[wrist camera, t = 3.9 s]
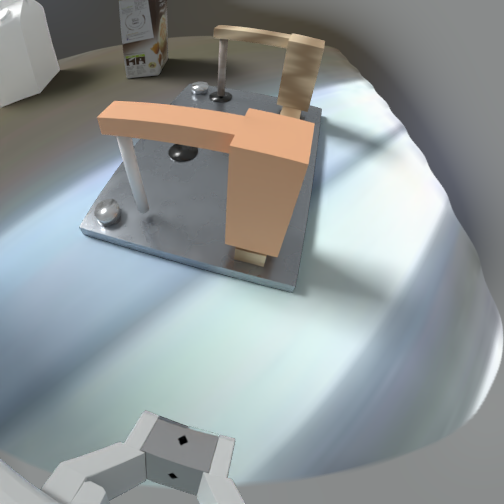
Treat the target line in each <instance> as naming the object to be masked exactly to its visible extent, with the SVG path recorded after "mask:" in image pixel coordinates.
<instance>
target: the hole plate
mask: <svg viewBox="0 0 504 504" xmlns="http://www.w3.org/2000/svg"><path fill="white" fill-rule="evenodd" d="M217 89H218V87H214V86H208V83H206V82H196V83H193V84H189V85H188V86H187V87H186V88H185V89H184V90H183V91H182V92H181V93H180V94H179V95H178V96H177V97H176V98H175V99H174V101H173V102H172V103H171V104H170V105H175V106H184V107H192V108H199V109H206V110H213V111H219V112H225V113H231V114H236V115H242V116H245V115H246V113H247V111H248V109H249V108H251V109H256V110H261V111H266V112H271V113H275V114H280V113H281V110H282V107H283V106H281V105H277V100H278V98H277V97H272V96H268V95H263V94H258V93H252V92H247V91H241V90H235V89H228V88H225V95H224V96H218V95H217ZM321 112H322V109H321V108H318V107H314V106H310V105H309V109H308V112H306V111H302V110H301V115H300V120H304V121H308V122H311V123H315V125H314V132H313V139H312V145H311V152H310V158H309V165H308V168H307V171H306V174H305V177H304V180H303V183H302V186H301V189H300V192H299V195H298V198H297V201H296V204H295V207H294V210H293V213H292V216H291V219H290V222H289V225H288V228H287V231H286V234H285V237H284V240H283V243H282V246H281V249H280V252H279V254H278V257H274V256H270V255H267V256H266V260H265V263H264V267H262V266H259V265H255V264H251V263H247V262H243V261H239V260H235V259H234V257H235V248H236V247H235V246H231V245H227V244H225V230H226V205H227V183H228V164H229V153H224V152H219V151H214V150H208V149H203V148H198V147H192V146H186V145H180V144H174V143H168V142H161V141H154V140H147V139H140V140H139V141H138V142H137V144H136V145H135V146H134V150H135V155H136V159H137V163H138V167H139V171H140V175H141V179H142V183H143V187H144V190H145V194H146V198H147V201H148V205H149V210H148V212H146V213H140V212H139V211H138V208H137V205H136V202H135V199H134V196H133V192H132V189H131V186H130V183H129V179H128V176H127V173H126V169H125V166H124V162H122V163H121V165H120V166H119V167H118V169H117V170H116V171H115V173H114V174H113V176H112V177H111V179H110V180H109V181H108V183H107V184H106V186H105V187H104V189H103V190H102V192H101V193H100V195H99V196H98V198H97V199H96V201H95V202H94V204H93V205H92V207H91V208H90V210H89V212H88V213H87V215H86V216H85V218H84V220H83V221H82V223H81V225H80V226H79V228H80V229H81V231H82V233H83V234H84V235H87V236H91V237H94V238H97V239H100V240H104V241H107V242H110V243H114V244H117V245H120V246H124V247H127V248H130V249H134V250H137V251H140V252H144V253H147V254H151V255H154V256H158V257H161V258H165V259H168V260H172V261H175V262H179V263H182V264H186V265H190V266H193V267H197V268H200V269H204V270H208V271H211V272H215V273H219V274H222V275H226V276H230V277H234V278H237V279H241V280H245V281H249V282H253V283H257V284H260V285H264V286H268V287H272V288H276V289H280V290H284V291H288V292H293V290H294V288H295V287H296V281H297V276H298V271H299V265H300V259H301V254H302V248H303V242H304V236H305V230H306V224H307V217H308V211H309V204H310V198H311V191H312V184H313V177H314V169H315V162H316V154H317V146H318V138H319V130H320V121H321Z"/></svg>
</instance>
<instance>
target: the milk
mask: <svg viewBox="0 0 504 504" xmlns="http://www.w3.org/2000/svg"><path fill="white" fill-rule="evenodd" d="M59 71H60V68H59V65H58V62H57V58H56V55H55V51H54V48H53V44H52V41H51V37H50V33H49V29H48V25H47V21H46V17H45V12H44V8H43V7H42V5H41V4H39V3H38V2H36V1H35V0H0V106H1V107H4V106H6V105H9V104H11V103H14V102H16V101H19V100H21V99H24V98H27V97H30V96H33V95H36V94H39V93H41V91H42V90H43V89H44V88H45V87H46V85H47V84H48V83H49V82H50V81H51V80H52V79H53V77H54V76H55V75H56V74H57V73H58V72H59Z"/></svg>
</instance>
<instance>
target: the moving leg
mask: <svg viewBox="0 0 504 504" xmlns="http://www.w3.org/2000/svg"><path fill="white" fill-rule="evenodd" d="M97 119H98V122H99V126H100V129H101V133H102V134H104V135H114V136H116V137H117V140H118V144H119V148H120V152H121V155H122V159H123V162H124V166H125V169H126V173H127V176H128V179H129V183H130V186H131V189H132V192H133V196H134V199H135V202H136V205H137V208H138V211H139V212H140V213H146V212H148V210H149V205H148V201H147V198H146V194H145V190H144V187H143V183H142V179H141V175H140V171H139V167H138V163H137V159H136V155H135V150H134V146H133V142H132V138H140V139H147V140H154V141H161V142H168V143H174V144H180V145H186V146H192V147H198V148H203V149H208V150H214V151H219V152H224V153H229V164H228V183H227V205H226V230H225V244H227V245H231V246H235V247H239V248H243V249H246V250H250V251H254V252H258V253H262V254H266V255H270V256H274V257H278V254H279V252H280V249H281V246H282V243H283V240H284V237H285V234H286V231H287V228H288V225H289V222H290V219H291V216H292V213H293V210H294V207H295V204H296V201H297V198H298V195H299V192H300V189H301V186H302V183H303V180H304V177H305V174H306V171H307V168H308V165H309V158H310V152H311V145H312V139H313V132H314V125H315V123H311V122H308V121H304V120H300V119H296V118H292V117H288V116H284V115H280V114H275V113H271V112H266V111H261V110H256V109H251V108H249V109H248V111H247V113H246V115H245V116H242V115H236V114H231V113H225V112H219V111H213V110H206V109H199V108H192V107H184V106H175V105H166V104H155V103H142V102H125V101H114V102H113V103H112V104H110V105H109V106H108V107H107V108H106V109H105V110H104V111H103V112H102V113H101V114H100V115H99V116H98V117H97Z"/></svg>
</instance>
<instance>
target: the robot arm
mask: <svg viewBox="0 0 504 504" xmlns="http://www.w3.org/2000/svg"><path fill="white" fill-rule="evenodd" d="M234 445H235V438H231V437H227V436H223V435H219V434H216V433H213V432H209V431H205V430H201V429H198V428H195V427H191V426H186V425H183V424H181V423H178V422H175V421H172V420H170V419H167V418H164V417H162V416H159V415H156V414H154V413H151V412H149V411H146V410H145V411H144V412H143V413H142V414H141V416H140V418H139V419H138V421H137V423H136V424H135V426H134V428H133V429H132V431H131V432H130V434H129V436H128V437H127V439H126V441H125V442H124V443H122V442H118V443H115V444H113V445H110V446H107V447H105V448H102V449H99V450H96V451H94V452H91V453H88V454H85V455H82V456H79V457H76V458H73V459H70V460H67V461H63V462H60V464H59V465H58V466H57V468H56V469H55V470H54V472H53V473H52V474H51V476H50V477H49V478H48V480H47V481H46V483H45V484H44V485H43V486H42V488H41V489H38V488H37V487H35V486H34V485H33V484H31V483H30V482H29V481H27V480H26V479H25V478H23V477H22V476H21V475H20V474H18V473H17V472H16V471H14V470H13V469H12V468H11V467H10V466H9V465H7V464H6V463H5V462H4V461H3V460H2V459H1V458H0V504H110V502H109V501H110V500H112V499H114V498H115V497H117V496H119V495H121V494H123V493H125V492H127V491H128V490H130V489H132V488H134V487H136V486H137V485H139V484H141V483H143V482H144V481H146V479H148V480H151V481H153V482H156V483H159V484H162V485H165V486H168V487H172V488H174V489H177V490H180V491H183V492H186V493H190V494H193V495H196V496H197V499H198V502H199V504H246V503H245V502H244V500H243V498H242V496H241V494H240V493H239V491H238V489H237V487H236V485H235V483H234V482H233V480H232V479H230V478H228V473H229V468H230V464H231V459H232V454H233V450H234Z"/></svg>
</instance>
